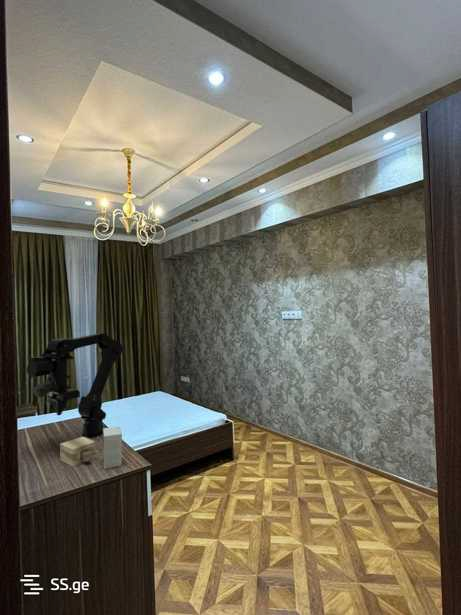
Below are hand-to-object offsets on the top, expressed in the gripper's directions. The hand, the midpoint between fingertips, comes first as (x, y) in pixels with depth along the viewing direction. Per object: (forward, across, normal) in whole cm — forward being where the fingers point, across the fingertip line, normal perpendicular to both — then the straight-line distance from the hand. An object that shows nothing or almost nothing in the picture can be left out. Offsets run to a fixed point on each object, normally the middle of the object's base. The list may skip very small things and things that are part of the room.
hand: (59, 415), depth 119 cm
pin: (+12, +15, -1) cm, 19 cm away
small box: (+12, +27, +4) cm, 30 cm away
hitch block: (+12, +15, -1) cm, 19 cm away
